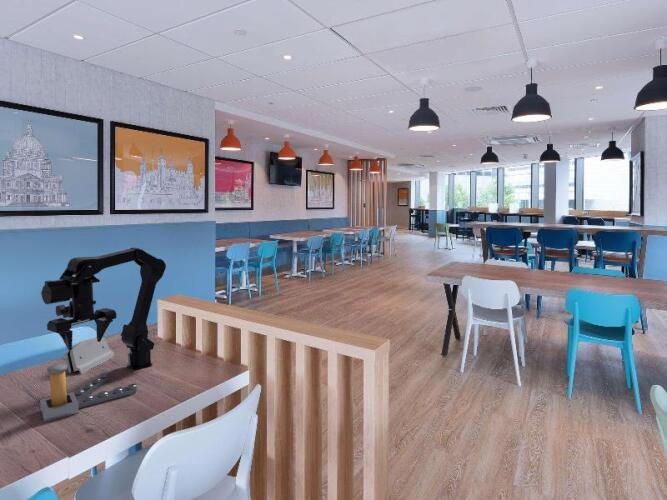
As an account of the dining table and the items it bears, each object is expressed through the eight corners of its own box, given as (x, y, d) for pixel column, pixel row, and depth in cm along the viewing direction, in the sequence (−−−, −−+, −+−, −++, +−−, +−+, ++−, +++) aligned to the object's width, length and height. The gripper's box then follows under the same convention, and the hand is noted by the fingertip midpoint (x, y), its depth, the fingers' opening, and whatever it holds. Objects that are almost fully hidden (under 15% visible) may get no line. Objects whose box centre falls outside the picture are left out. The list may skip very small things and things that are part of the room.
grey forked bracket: (123, 374, 140) (123, 365, 140) (140, 395, 125) (140, 386, 125) (36, 394, 124) (35, 385, 124) (44, 422, 110) (43, 411, 109)
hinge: (80, 374, 139) (70, 346, 138) (69, 377, 140) (59, 349, 139) (115, 356, 155) (107, 331, 155) (105, 358, 156) (97, 334, 156)
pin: (60, 406, 118) (57, 363, 116) (73, 408, 117) (71, 365, 115) (45, 414, 113) (42, 369, 112) (59, 416, 112) (56, 371, 111)
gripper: (96, 289, 140) (97, 333, 142) (35, 300, 123) (38, 349, 125) (116, 293, 135) (118, 339, 137) (56, 305, 118) (59, 357, 120)
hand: (84, 345), depth 130 cm, fingers open, 9 cm apart
